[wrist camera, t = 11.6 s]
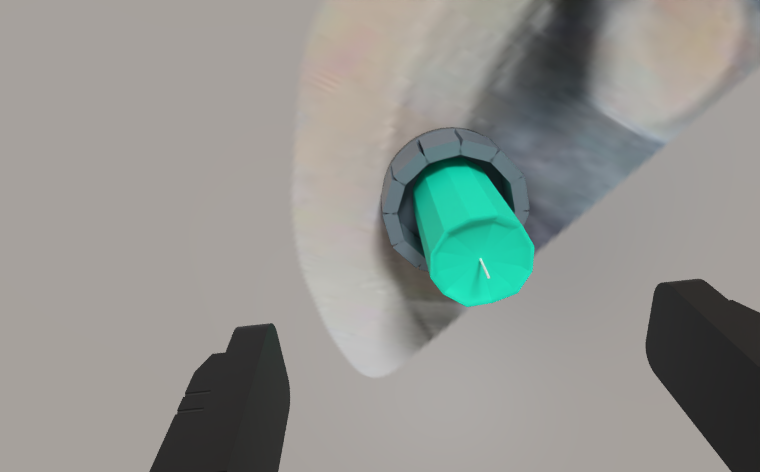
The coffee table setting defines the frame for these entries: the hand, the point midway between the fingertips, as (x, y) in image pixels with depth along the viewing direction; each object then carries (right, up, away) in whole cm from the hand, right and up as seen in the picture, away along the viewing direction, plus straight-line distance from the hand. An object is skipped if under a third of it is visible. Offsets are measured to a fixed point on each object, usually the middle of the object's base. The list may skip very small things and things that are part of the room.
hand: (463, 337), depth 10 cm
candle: (+4, +5, +26) cm, 27 cm away
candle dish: (+3, +6, +27) cm, 28 cm away
